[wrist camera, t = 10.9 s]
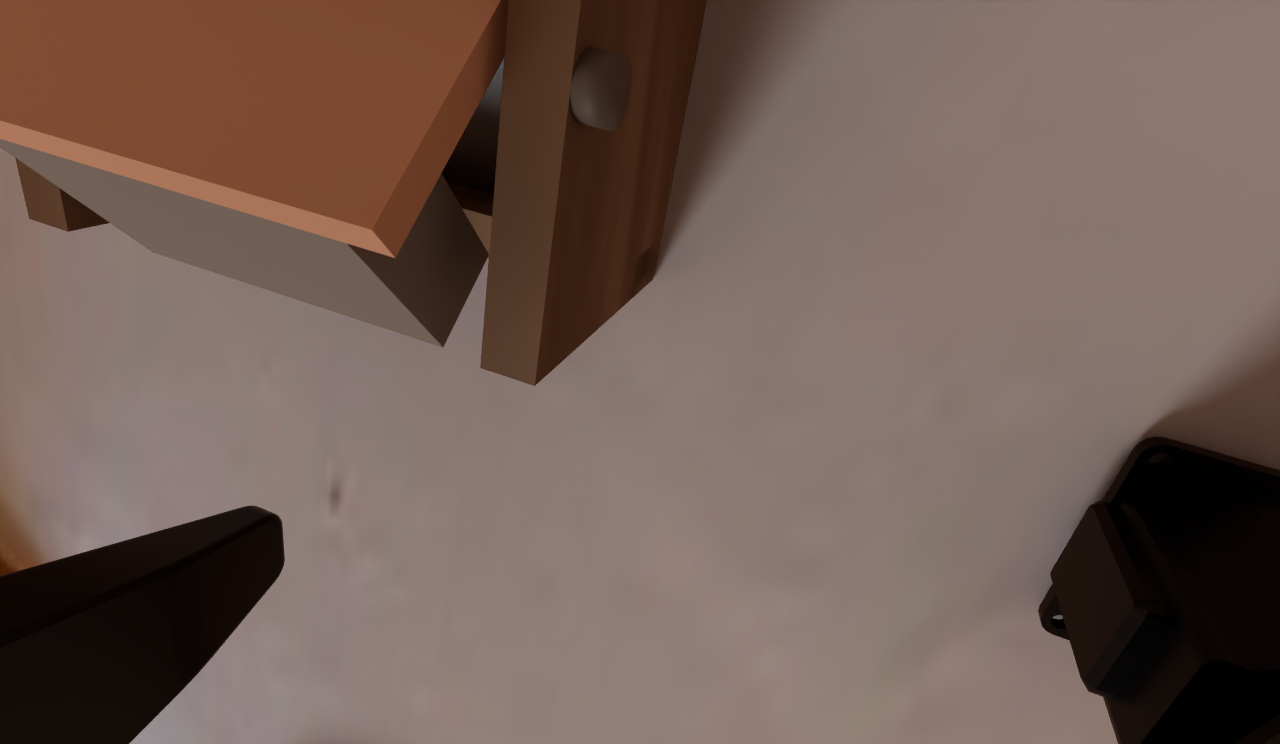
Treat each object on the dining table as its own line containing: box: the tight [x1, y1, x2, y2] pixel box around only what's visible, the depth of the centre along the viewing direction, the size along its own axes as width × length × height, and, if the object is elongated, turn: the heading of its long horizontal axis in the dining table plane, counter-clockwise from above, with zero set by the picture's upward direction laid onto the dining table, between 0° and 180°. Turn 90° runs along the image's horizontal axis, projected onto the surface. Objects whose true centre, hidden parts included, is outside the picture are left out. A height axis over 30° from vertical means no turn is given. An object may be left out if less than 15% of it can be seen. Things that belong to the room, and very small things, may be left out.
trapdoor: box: [0, 0, 509, 347], centre depth 15 cm, size 10×11×5 cm
